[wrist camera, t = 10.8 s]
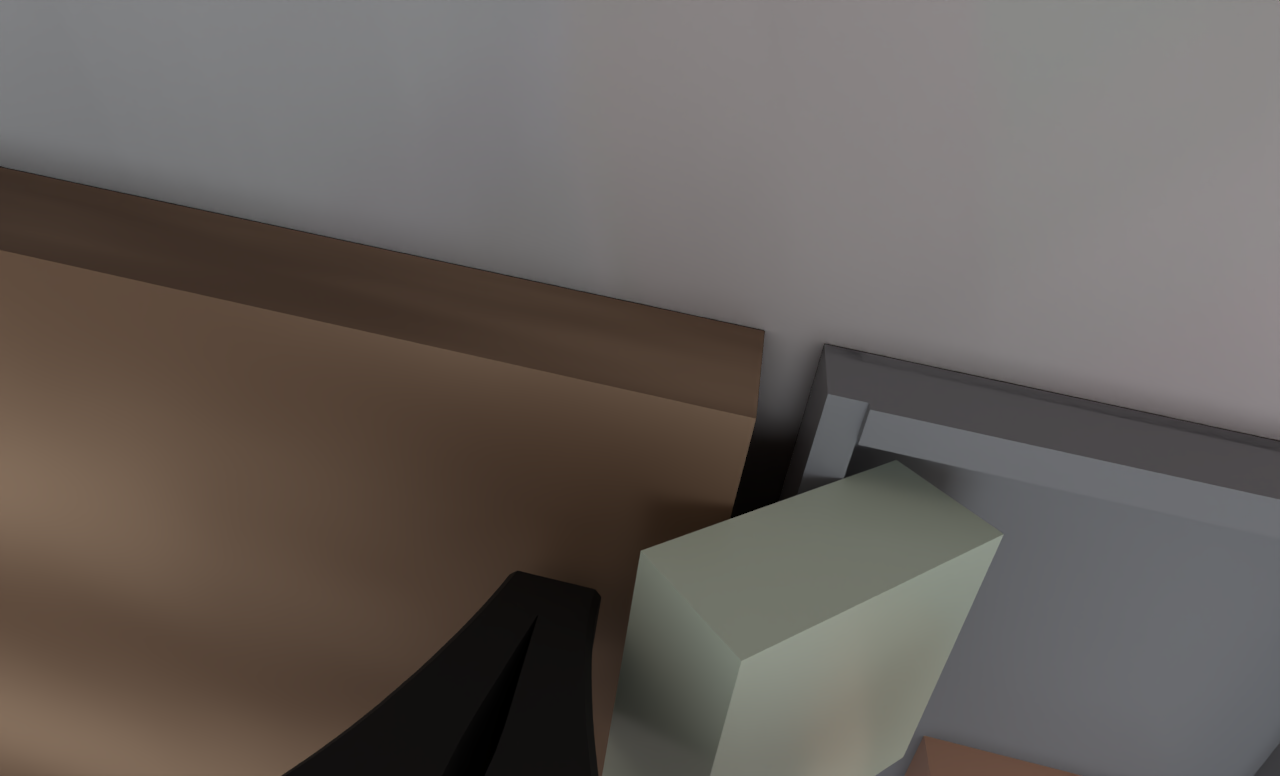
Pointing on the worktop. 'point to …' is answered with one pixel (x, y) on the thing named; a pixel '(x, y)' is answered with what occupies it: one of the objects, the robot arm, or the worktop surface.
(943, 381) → the box
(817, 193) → the worktop surface
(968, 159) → the worktop surface
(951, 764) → the terracotta tile
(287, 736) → the walnut plate
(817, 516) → the sage tile
